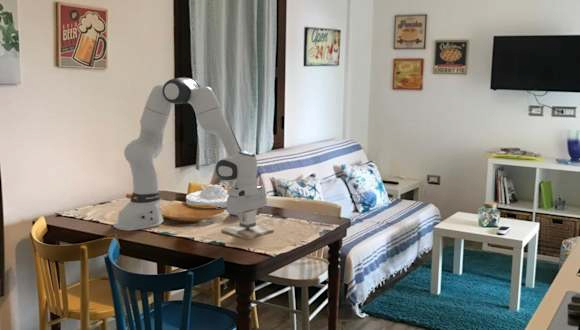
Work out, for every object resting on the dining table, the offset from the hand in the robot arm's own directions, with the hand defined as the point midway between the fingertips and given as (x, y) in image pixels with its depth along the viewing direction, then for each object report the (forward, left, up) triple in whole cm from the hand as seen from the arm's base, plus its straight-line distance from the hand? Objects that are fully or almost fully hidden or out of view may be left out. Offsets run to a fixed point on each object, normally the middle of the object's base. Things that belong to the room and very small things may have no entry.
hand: (247, 220), depth 272 cm
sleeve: (0, 0, -3) cm, 3 cm away
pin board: (0, 0, -5) cm, 5 cm away
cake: (+23, +52, -6) cm, 57 cm away
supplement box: (+15, +24, -5) cm, 29 cm away
